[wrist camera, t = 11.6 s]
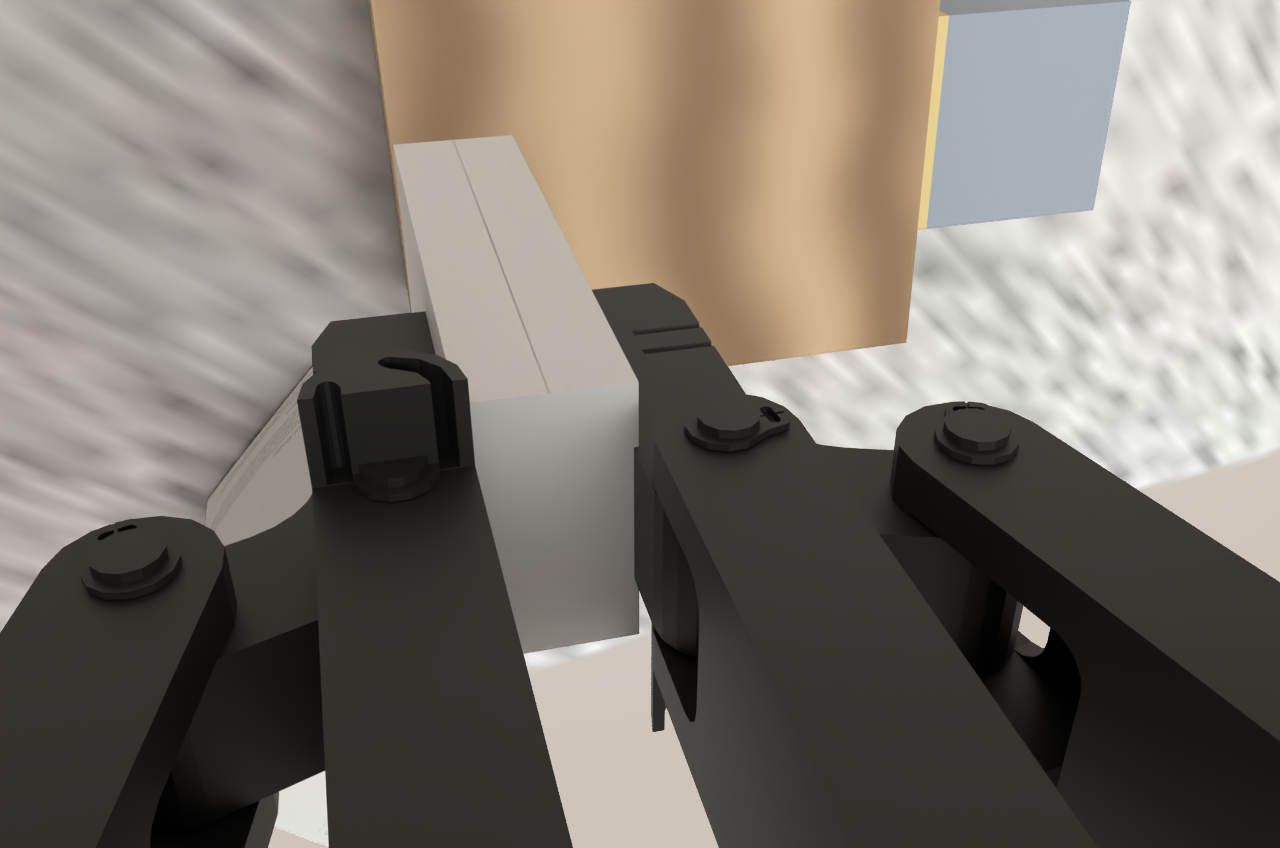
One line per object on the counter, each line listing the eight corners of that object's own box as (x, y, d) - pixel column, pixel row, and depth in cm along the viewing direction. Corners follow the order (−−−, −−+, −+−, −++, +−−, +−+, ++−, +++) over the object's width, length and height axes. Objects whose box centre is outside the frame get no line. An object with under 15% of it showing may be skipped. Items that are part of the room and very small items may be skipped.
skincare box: (335, 568, 51) (341, 867, 38) (192, 495, 48) (147, 795, 35) (458, 426, 49) (510, 691, 36) (318, 339, 46) (320, 596, 33)
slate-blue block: (904, 231, 41) (1093, 210, 42) (924, 17, 37) (1130, 1, 39) (830, 164, 47) (998, 147, 48) (842, -27, 43) (1023, -40, 44)
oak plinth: (407, 288, 45) (425, 406, 38) (352, -120, 38) (361, -74, 31) (814, 241, 48) (906, 342, 41) (834, -146, 41) (951, -110, 34)
